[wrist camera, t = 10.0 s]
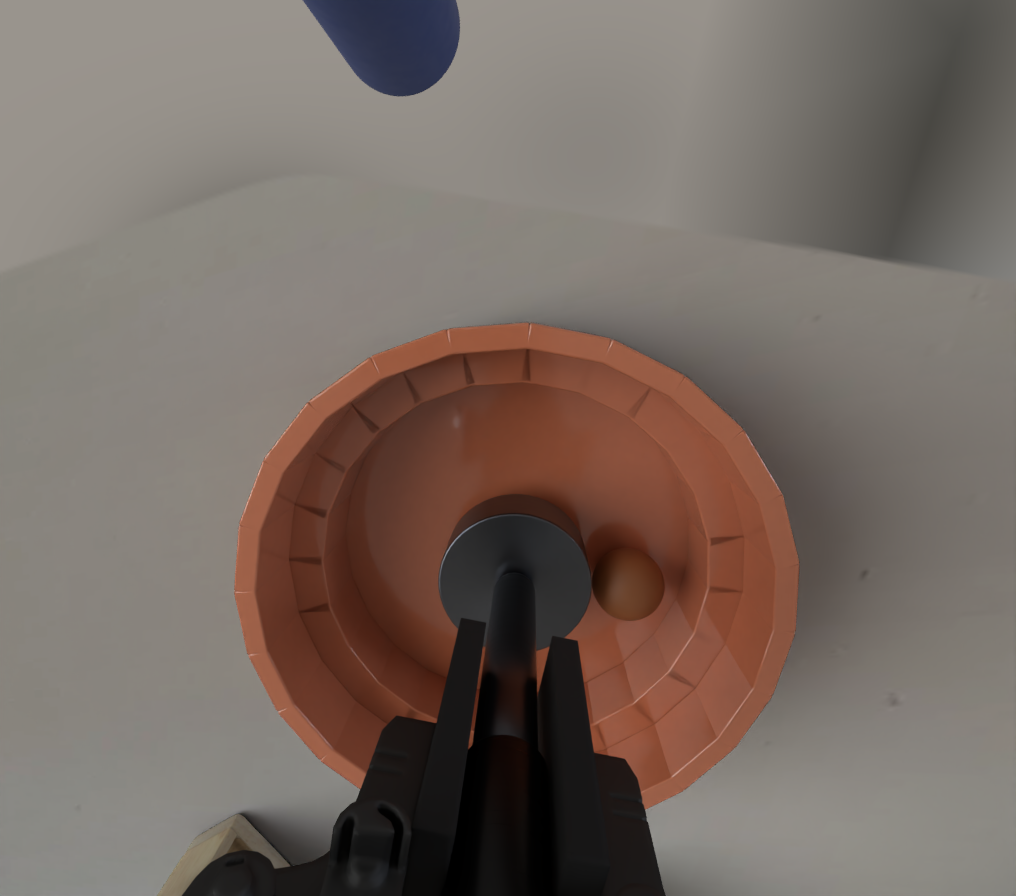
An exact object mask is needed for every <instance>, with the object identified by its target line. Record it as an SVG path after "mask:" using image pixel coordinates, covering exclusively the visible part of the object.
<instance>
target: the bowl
mask: <svg viewBox="0 0 1016 896" xmlns="http://www.w3.org/2000/svg"><path fill="white" fill-rule="evenodd" d="M508 494H523V495H530V496H534V497H538V498H541V499H543V500H546V501H548V502H550V503H552V504H554V505H555V506H557V507H558V508H559V509H561V510H562V511H563V512H565V513H566V514H567V515H568V516H569V517H570V519H571V520H572V521H573V522H574V524H575V525H576V527H577V528H578V530H579V532H580V534H581V536H582V539H583V542H584V546H585V550H586V554H587V558H588V562H589V566H590V571H591V577H593V572H594V569H595V567H596V565H597V563H598V562H599V561H600V559H601V558H602V557H603V556H605V555H606V554H607V553H609V552H611V551H613V550H616V549H620V548H633V549H637V550H640V551H642V552H644V553H646V554H647V555H649V556H650V557H651V558H652V559H653V560H654V561H655V562H656V563H657V564H658V566H659V568H660V569H661V572H662V574H663V578H664V585H665V588H664V595H663V598H662V601H661V603H660V605H659V606H658V608H657V609H656V610H655V611H654V612H653V613H652V614H651V615H649V616H647V617H645V618H643V619H640V620H636V621H625V620H620V619H617V618H615V617H613V616H611V615H609V614H608V613H607V612H605V611H604V610H603V609H602V608H601V606H600V605H599V604H598V602H597V600H596V598H595V596H594V593H593V588H592V592H591V597H590V602H589V605H588V608H587V610H586V612H585V614H584V616H583V618H582V619H581V621H580V622H579V624H578V625H577V626H576V627H575V628H574V629H573V631H572V632H571V633H569V634H568V635H567V636H566V637H565V638H567V639H572V640H577V641H578V646H579V653H580V660H581V667H582V674H583V681H584V687H585V694H586V701H587V708H588V715H589V722H590V728H591V735H592V742H593V749H594V753H599V754H604V755H609V756H614V757H619V758H624V759H625V760H626V761H627V763H628V764H629V766H630V767H631V769H632V771H633V772H634V774H635V775H636V777H637V778H638V782H639V787H640V791H641V795H642V799H643V800H642V804H644V808H645V810H646V809H648V808H650V807H652V806H654V805H656V804H658V803H660V802H662V801H664V800H666V799H668V798H670V797H672V796H674V795H676V794H678V793H680V792H682V791H683V790H685V789H686V788H688V787H689V786H690V785H691V784H692V783H694V782H695V781H696V780H697V779H698V778H700V777H701V776H702V775H703V774H704V773H706V772H707V771H708V770H709V769H711V768H712V767H713V766H714V765H715V764H717V763H718V762H719V761H720V760H721V759H723V758H724V757H725V756H726V755H727V754H729V753H730V752H731V751H732V750H733V749H734V748H735V747H736V746H737V745H738V743H739V742H740V740H741V739H742V738H743V736H744V735H745V733H746V732H747V731H748V729H749V728H750V727H751V725H752V724H753V722H754V721H755V720H756V718H757V717H758V715H759V714H760V713H761V711H762V710H763V708H764V707H765V706H766V704H767V703H768V702H769V700H770V699H771V697H772V695H773V693H774V691H775V688H776V685H777V682H778V680H779V677H780V674H781V671H782V669H783V666H784V663H785V660H786V658H787V655H788V652H789V650H790V647H791V644H792V641H793V639H794V636H795V631H796V616H797V599H798V582H799V559H798V554H797V550H796V546H795V542H794V538H793V534H792V530H791V526H790V522H789V517H788V513H787V509H786V505H785V501H784V497H783V495H782V492H781V490H780V489H779V487H778V485H777V484H776V482H775V480H774V479H773V477H772V475H771V474H770V472H769V470H768V469H767V467H766V465H765V464H764V462H763V460H762V458H761V457H760V455H759V453H758V452H757V450H756V448H755V447H754V445H753V443H752V442H751V440H750V438H749V437H748V435H747V433H746V432H745V431H744V430H743V429H742V427H741V426H740V425H739V424H738V423H737V422H736V421H735V420H733V419H732V418H731V417H730V416H729V415H728V414H727V413H726V412H725V411H724V410H723V409H722V408H720V407H719V406H718V405H717V404H716V403H715V402H714V401H713V400H712V399H711V398H710V397H708V396H707V395H706V394H705V393H704V392H703V391H702V390H701V389H700V388H699V387H698V386H697V385H695V384H694V383H693V382H692V381H691V380H690V379H689V378H688V377H685V376H684V375H683V374H682V373H680V372H678V371H676V370H674V369H672V368H670V367H668V366H666V365H664V364H662V363H660V362H658V361H656V360H654V359H652V358H650V357H648V356H646V355H644V354H642V353H640V352H638V351H636V350H634V349H632V348H630V347H628V346H626V345H624V344H622V343H620V342H618V341H616V340H613V339H610V338H607V337H603V336H599V335H594V334H590V333H585V332H580V331H575V330H570V329H565V328H559V327H554V326H549V325H544V324H539V323H534V322H530V323H529V322H519V323H506V324H493V325H480V326H467V327H458V328H449V329H444V330H442V331H439V332H436V333H433V334H430V335H428V336H425V337H422V338H419V339H417V340H414V341H411V342H408V343H406V344H403V345H400V346H397V347H395V348H392V349H389V350H386V351H384V352H381V353H378V354H375V355H373V356H372V357H370V358H367V359H366V360H365V361H363V362H362V363H361V364H359V365H358V366H356V367H355V368H354V369H352V370H351V371H349V372H348V373H347V374H345V375H344V376H343V377H341V378H340V379H338V380H337V381H336V382H334V383H333V384H332V385H330V386H329V387H327V388H326V389H325V390H323V391H322V392H320V393H319V394H318V395H316V396H315V397H314V398H312V399H311V400H310V401H309V402H308V403H306V405H305V406H304V407H303V408H302V410H301V411H300V412H299V414H298V415H297V416H296V418H295V419H294V420H293V421H292V423H291V424H290V425H289V427H288V428H287V429H286V431H285V432H284V433H283V434H282V436H281V437H280V438H279V440H278V441H277V442H276V444H275V445H274V446H273V447H272V449H271V450H270V451H269V453H268V454H267V455H266V457H265V458H264V460H263V462H262V465H261V467H260V470H259V472H258V475H257V478H256V480H255V483H254V486H253V488H252V491H251V494H250V496H249V499H248V501H247V504H246V507H245V509H244V512H243V515H242V517H241V520H240V523H239V524H240V525H239V531H238V545H237V559H236V573H235V587H234V590H235V592H234V594H235V598H236V603H237V608H238V612H239V617H240V622H241V626H242V631H243V636H244V640H245V645H246V650H247V654H249V658H250V660H251V662H252V664H253V666H254V668H255V670H256V672H257V674H258V676H259V678H260V679H261V681H262V683H263V685H264V687H265V689H266V691H267V693H268V695H269V697H270V699H271V701H272V703H273V705H274V707H275V709H276V710H277V711H278V713H279V715H280V716H281V717H282V718H283V719H284V720H285V721H286V723H287V724H288V725H289V726H290V727H291V728H292V729H293V730H294V732H295V733H296V734H297V735H298V736H299V737H300V738H301V740H302V741H303V742H304V743H305V744H306V745H307V746H308V747H309V749H310V750H311V751H312V752H313V753H314V754H315V755H316V757H317V758H318V759H321V762H323V763H324V764H326V765H327V766H328V767H330V768H331V769H333V770H334V771H335V772H337V773H338V774H340V775H341V776H342V777H344V778H345V779H347V780H348V781H349V782H351V783H352V784H354V785H355V786H357V787H358V788H359V789H361V787H362V784H363V781H364V778H365V776H366V773H367V770H368V768H369V764H370V762H371V759H372V756H373V753H374V752H375V748H376V745H377V742H378V740H379V737H380V734H381V731H382V729H383V728H384V727H385V726H386V725H387V724H388V723H389V722H390V721H391V720H392V719H393V718H394V717H395V716H396V715H397V716H402V717H407V718H412V719H418V720H423V721H428V722H433V723H436V722H437V718H438V714H439V709H440V705H441V701H442V697H443V692H444V688H445V684H446V679H447V675H448V671H449V667H450V662H451V658H452V654H453V649H454V645H455V641H456V637H457V632H458V629H457V627H456V626H455V625H454V624H453V623H452V621H451V620H450V618H449V617H448V615H447V613H446V611H445V609H444V607H443V605H442V602H441V599H440V594H439V588H438V576H439V569H440V565H441V561H442V558H443V556H444V553H445V550H446V548H447V545H448V542H449V539H450V537H451V534H452V532H453V530H454V528H455V527H456V525H457V523H458V522H459V521H460V519H461V518H462V517H463V516H464V515H465V514H466V513H467V512H468V511H469V510H470V509H472V508H473V507H474V506H476V505H477V504H479V503H481V502H483V501H485V500H488V499H490V498H493V497H497V496H501V495H508ZM549 647H550V646H549ZM549 647H547V648H544V649H541V650H538V651H536V658H537V696H538V692H539V688H540V684H541V680H542V676H543V672H544V667H545V663H546V659H547V655H548V651H549ZM484 655H485V647H483V649H482V656H481V663H480V670H479V677H478V684H477V691H476V697H475V704H474V711H473V718H472V725H471V732H470V739H469V746H468V749H469V748H470V747H471V746H472V743H473V735H474V728H475V721H476V713H477V706H478V699H479V691H480V684H481V677H482V669H483V662H484Z"/></svg>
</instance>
